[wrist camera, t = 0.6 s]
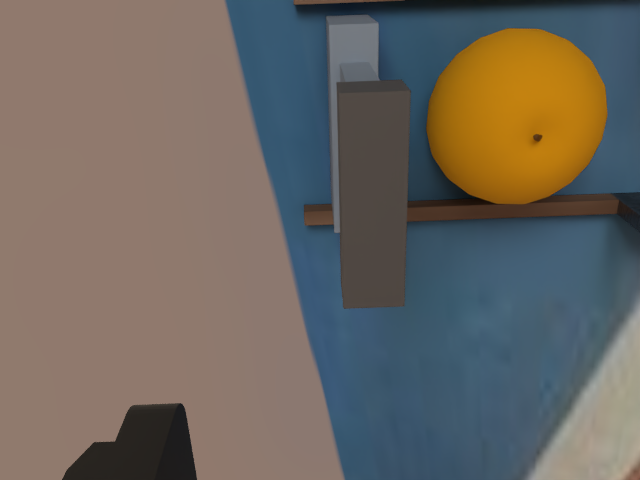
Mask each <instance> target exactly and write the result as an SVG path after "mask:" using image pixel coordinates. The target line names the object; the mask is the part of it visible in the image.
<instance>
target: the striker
mask: <svg viewBox="0 0 640 480" xmlns="http://www.w3.org/2000/svg"><path fill="white" fill-rule="evenodd" d="M326 34H327V69H328V105H329V140H330V175H331V200H332V211H333V222H334V232H335V233H340V259H341V287H342V297H343V307H344V309H347V308H373V307H400V306H404V302H405V268H406V233H407V198H408V164H409V129H410V95H411V91H410V89H409V88H408V87H407V86H406V84H405V83H404V82H403V81H402V80H380V79H379V78H378V22H376V21H375V20H374V19H373V18H371V17H370V16H369V15H341V16H326Z"/></svg>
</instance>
